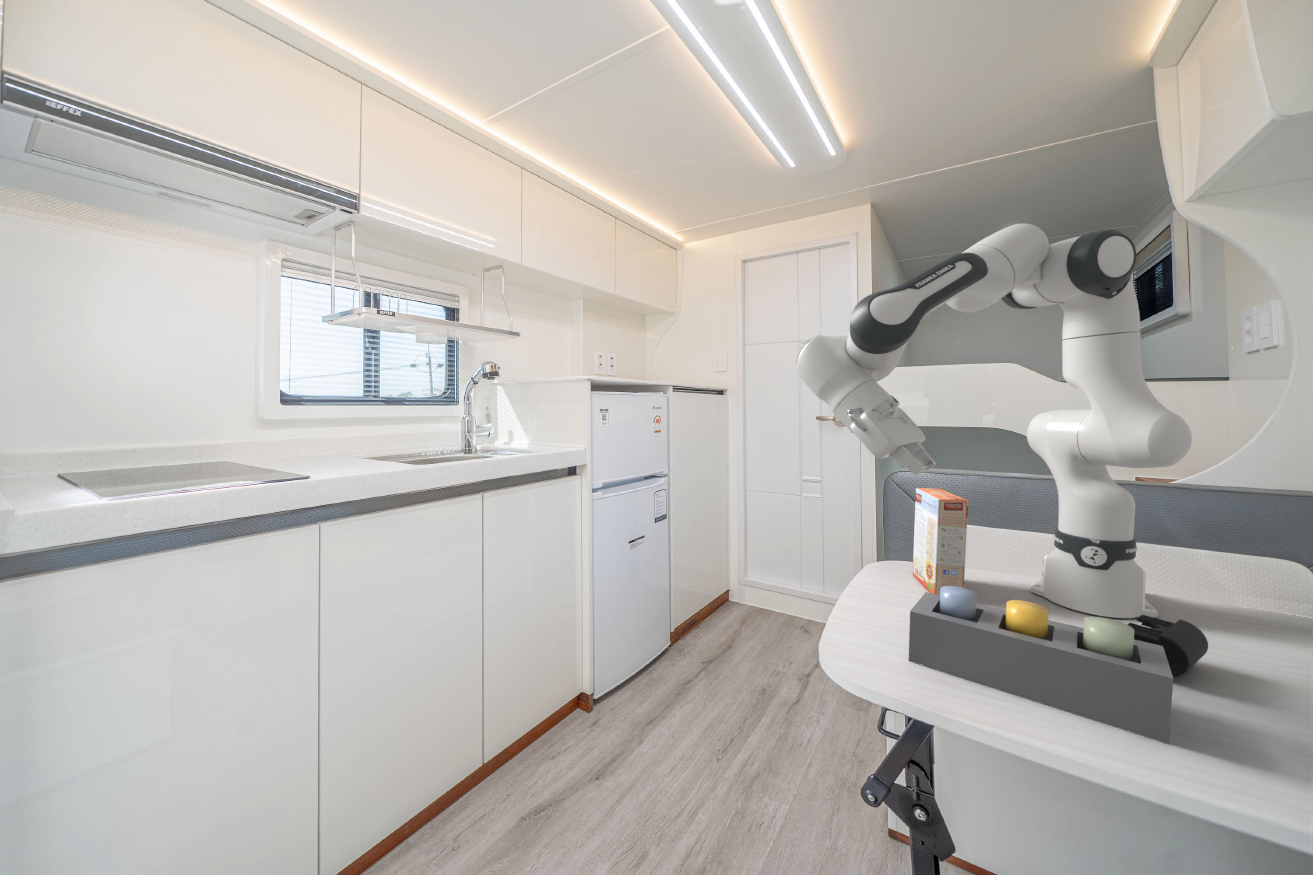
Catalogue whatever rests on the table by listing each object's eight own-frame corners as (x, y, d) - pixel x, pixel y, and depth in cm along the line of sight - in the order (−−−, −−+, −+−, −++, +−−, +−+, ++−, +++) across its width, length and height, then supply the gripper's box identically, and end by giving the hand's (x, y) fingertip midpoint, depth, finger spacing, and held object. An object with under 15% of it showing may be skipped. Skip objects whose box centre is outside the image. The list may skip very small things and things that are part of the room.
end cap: (1187, 690, 67) (1190, 643, 67) (1119, 666, 73) (1121, 623, 73) (1207, 670, 72) (1210, 626, 72) (1142, 649, 78) (1144, 609, 78)
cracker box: (965, 601, 98) (969, 499, 96) (933, 598, 99) (937, 498, 97) (939, 576, 111) (943, 487, 110) (911, 575, 112) (914, 486, 111)
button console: (924, 637, 83) (925, 591, 82) (1158, 703, 64) (1162, 645, 63) (908, 660, 75) (910, 610, 75) (1168, 743, 57) (1173, 678, 56)
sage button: (1082, 637, 67) (1084, 613, 67) (1131, 649, 64) (1132, 623, 63) (1082, 651, 63) (1084, 625, 63) (1134, 664, 60) (1135, 637, 60)
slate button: (943, 604, 78) (943, 583, 78) (978, 612, 75) (979, 591, 75) (936, 614, 74) (937, 592, 74) (973, 623, 71) (973, 600, 71)
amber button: (1007, 619, 72) (1008, 597, 72) (1048, 629, 69) (1049, 606, 69) (1003, 631, 69) (1004, 607, 69) (1046, 642, 66) (1047, 617, 65)
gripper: (858, 395, 75) (927, 463, 69) (896, 397, 90) (955, 452, 84) (829, 423, 78) (892, 490, 72) (871, 420, 93) (925, 475, 87)
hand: (926, 469), depth 78 cm, fingers open, 6 cm apart
